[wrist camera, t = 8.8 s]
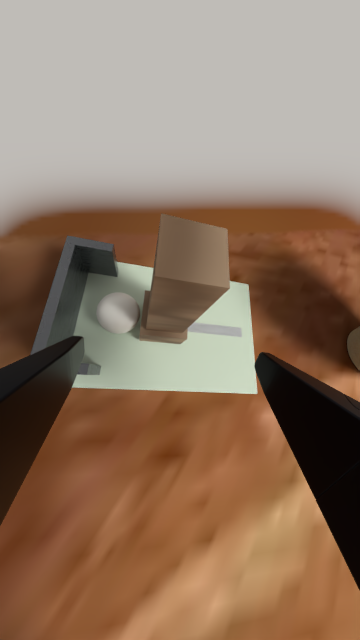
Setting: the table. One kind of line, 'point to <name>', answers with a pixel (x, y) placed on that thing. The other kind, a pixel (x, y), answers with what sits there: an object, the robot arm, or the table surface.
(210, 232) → the block
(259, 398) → the table surface
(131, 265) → the pitch
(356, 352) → the plant pot
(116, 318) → the ball
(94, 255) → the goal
